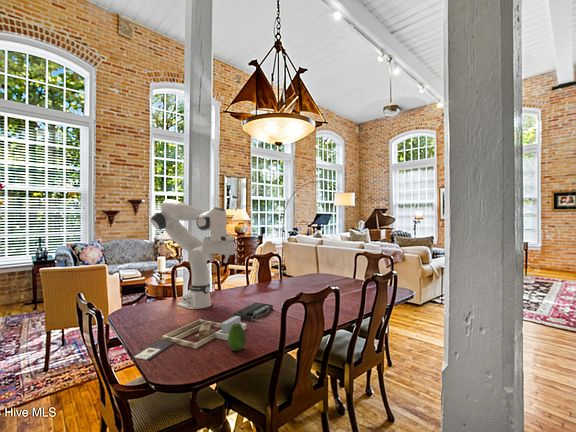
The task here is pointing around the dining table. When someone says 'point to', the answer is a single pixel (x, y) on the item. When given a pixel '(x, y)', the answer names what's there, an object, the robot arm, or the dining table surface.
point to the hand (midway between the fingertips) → (218, 262)
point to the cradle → (225, 336)
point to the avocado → (236, 337)
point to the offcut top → (204, 329)
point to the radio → (254, 311)
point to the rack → (186, 343)
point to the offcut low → (200, 337)
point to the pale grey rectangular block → (229, 324)
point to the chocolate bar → (153, 350)
